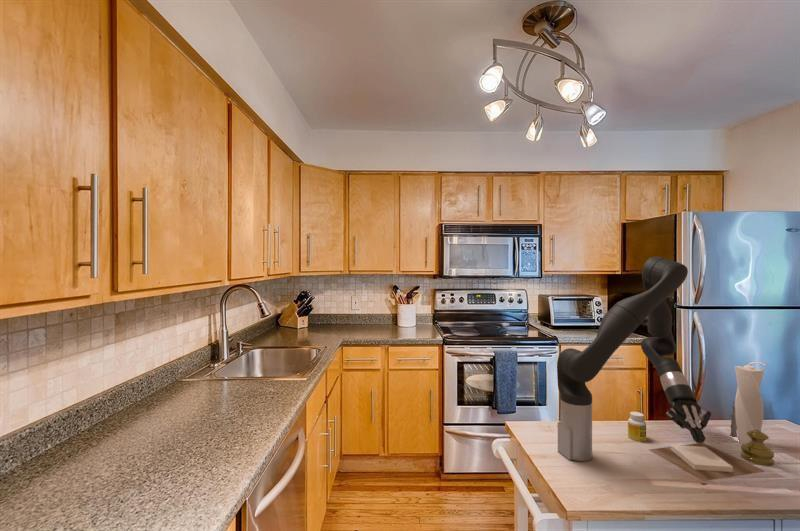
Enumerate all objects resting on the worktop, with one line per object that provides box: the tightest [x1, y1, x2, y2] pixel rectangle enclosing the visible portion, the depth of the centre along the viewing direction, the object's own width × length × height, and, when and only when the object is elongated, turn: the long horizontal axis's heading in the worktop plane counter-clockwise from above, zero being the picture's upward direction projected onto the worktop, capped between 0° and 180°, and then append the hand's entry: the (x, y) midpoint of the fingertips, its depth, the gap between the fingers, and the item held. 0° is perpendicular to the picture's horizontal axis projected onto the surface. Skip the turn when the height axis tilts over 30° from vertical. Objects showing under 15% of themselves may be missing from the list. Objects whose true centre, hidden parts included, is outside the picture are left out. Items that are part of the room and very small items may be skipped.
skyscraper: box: [729, 361, 767, 445], centre depth 130 cm, size 8×8×28 cm
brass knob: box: [740, 430, 775, 467], centre depth 117 cm, size 7×8×10 cm
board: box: [648, 442, 765, 486], centre depth 117 cm, size 22×18×1 cm
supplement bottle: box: [627, 411, 647, 443], centre depth 131 cm, size 5×5×10 cm
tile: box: [670, 444, 733, 472], centre depth 116 cm, size 10×2×12 cm
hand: (700, 442), depth 116 cm, fingers closed
